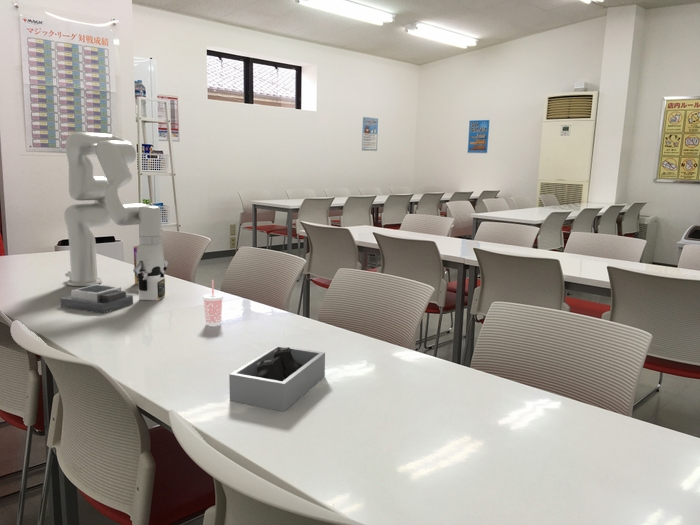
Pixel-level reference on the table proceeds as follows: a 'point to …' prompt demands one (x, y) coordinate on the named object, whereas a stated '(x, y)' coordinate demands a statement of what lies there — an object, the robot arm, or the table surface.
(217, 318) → the beverage cup
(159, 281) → the medicine bottle
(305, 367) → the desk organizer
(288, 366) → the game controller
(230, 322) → the table surface
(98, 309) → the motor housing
